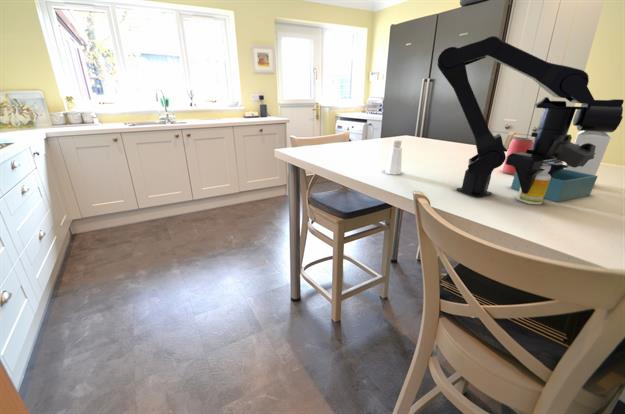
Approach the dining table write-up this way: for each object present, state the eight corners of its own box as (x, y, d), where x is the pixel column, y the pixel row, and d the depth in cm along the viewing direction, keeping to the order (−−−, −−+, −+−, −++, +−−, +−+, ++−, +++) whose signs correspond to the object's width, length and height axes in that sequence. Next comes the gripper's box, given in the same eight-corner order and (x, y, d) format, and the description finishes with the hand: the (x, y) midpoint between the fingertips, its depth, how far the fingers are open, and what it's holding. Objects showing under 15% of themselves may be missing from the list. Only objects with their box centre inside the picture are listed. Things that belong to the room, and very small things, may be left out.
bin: (557, 202, 73) (564, 181, 71) (510, 188, 83) (516, 169, 81) (589, 195, 79) (597, 176, 77) (542, 182, 89) (548, 165, 87)
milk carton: (559, 183, 89) (582, 120, 82) (561, 178, 94) (583, 119, 86) (590, 188, 84) (617, 122, 77) (590, 183, 89) (615, 120, 82)
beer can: (524, 177, 95) (536, 140, 90) (501, 173, 98) (511, 138, 94) (523, 172, 100) (534, 138, 96) (501, 170, 103) (511, 136, 99)
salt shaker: (398, 170, 100) (402, 139, 95) (403, 174, 95) (408, 141, 90) (383, 170, 99) (386, 138, 95) (387, 174, 94) (391, 141, 90)
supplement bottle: (546, 205, 70) (560, 167, 67) (522, 203, 71) (534, 166, 68) (535, 198, 75) (547, 162, 72) (512, 196, 76) (523, 161, 72)
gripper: (569, 135, 56) (543, 208, 62) (618, 132, 63) (590, 197, 69) (513, 128, 66) (495, 192, 71) (561, 126, 72) (541, 184, 78)
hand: (532, 191), depth 72 cm, fingers open, 6 cm apart
